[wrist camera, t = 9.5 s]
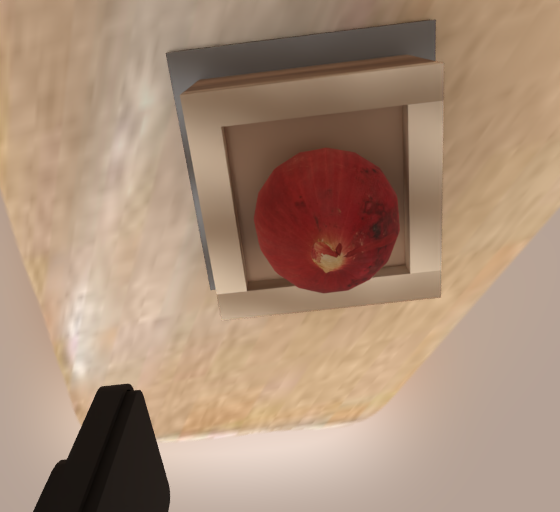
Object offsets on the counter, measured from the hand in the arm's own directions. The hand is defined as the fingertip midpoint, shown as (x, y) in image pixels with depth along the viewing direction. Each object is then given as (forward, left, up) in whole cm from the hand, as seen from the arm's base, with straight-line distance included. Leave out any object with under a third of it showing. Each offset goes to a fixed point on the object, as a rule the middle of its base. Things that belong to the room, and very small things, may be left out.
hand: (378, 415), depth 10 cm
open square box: (0, 0, -22) cm, 22 cm away
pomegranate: (0, 0, -16) cm, 16 cm away
